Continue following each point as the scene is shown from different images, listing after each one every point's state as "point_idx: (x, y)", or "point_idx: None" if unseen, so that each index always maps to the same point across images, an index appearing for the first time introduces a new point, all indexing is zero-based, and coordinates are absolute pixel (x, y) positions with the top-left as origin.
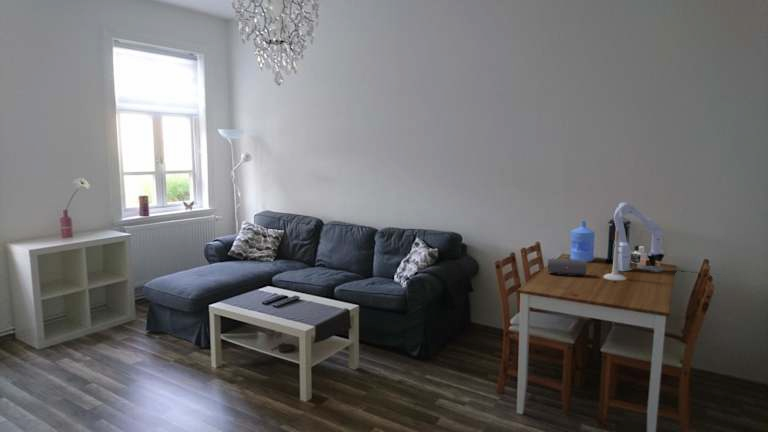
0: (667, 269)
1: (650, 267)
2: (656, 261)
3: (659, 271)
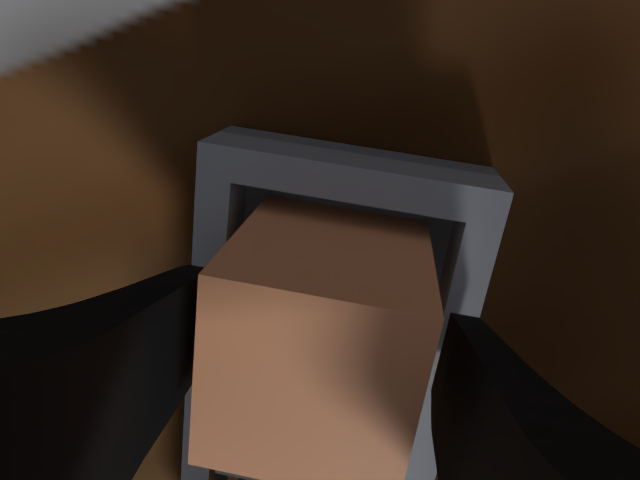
0: (18, 131)
1: None
2: (293, 383)
3: (394, 153)
